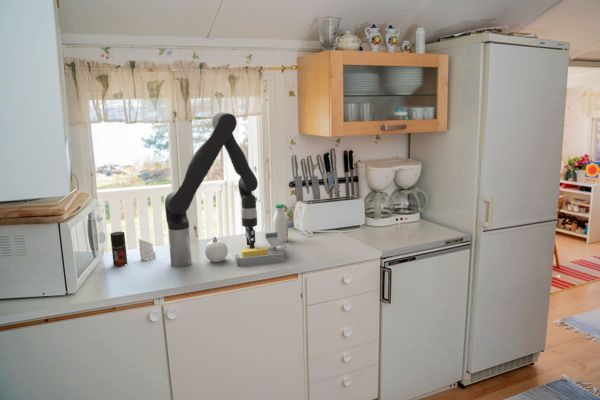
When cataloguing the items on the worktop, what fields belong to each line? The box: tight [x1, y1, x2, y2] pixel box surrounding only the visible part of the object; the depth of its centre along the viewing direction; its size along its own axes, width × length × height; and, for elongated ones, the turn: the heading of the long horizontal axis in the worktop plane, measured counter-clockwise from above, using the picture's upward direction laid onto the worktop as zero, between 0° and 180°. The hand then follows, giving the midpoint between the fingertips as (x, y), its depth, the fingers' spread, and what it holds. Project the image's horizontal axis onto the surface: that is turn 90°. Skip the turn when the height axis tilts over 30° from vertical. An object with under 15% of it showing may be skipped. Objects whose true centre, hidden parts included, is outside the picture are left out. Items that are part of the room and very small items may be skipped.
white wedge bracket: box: [138, 238, 157, 261], centre depth 216 cm, size 4×10×9 cm, turn 137°
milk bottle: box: [272, 203, 289, 243], centre depth 240 cm, size 8×8×20 cm
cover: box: [264, 231, 287, 251], centre depth 220 cm, size 6×22×3 cm, turn 16°
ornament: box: [204, 236, 229, 263], centre depth 210 cm, size 10×10×12 cm
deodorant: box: [110, 231, 128, 267], centre depth 208 cm, size 6×6×15 cm
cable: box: [241, 247, 269, 258], centre depth 217 cm, size 12×4×3 cm, turn 106°
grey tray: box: [232, 250, 286, 267], centre depth 213 cm, size 22×16×4 cm
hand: (250, 247), depth 227 cm, fingers open, 8 cm apart
